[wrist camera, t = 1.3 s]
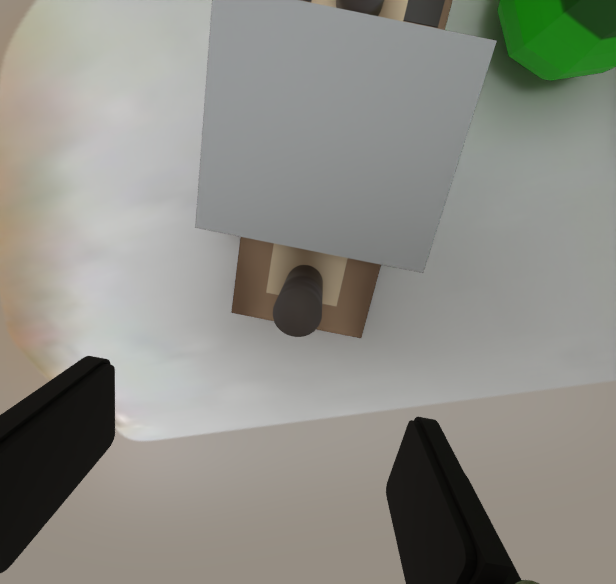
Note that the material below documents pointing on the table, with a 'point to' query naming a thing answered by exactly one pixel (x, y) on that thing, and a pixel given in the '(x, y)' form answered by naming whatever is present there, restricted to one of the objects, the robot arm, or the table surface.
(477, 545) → the robot arm
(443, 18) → the track board
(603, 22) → the plastic bottle
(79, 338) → the table surface
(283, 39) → the tunnel
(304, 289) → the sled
